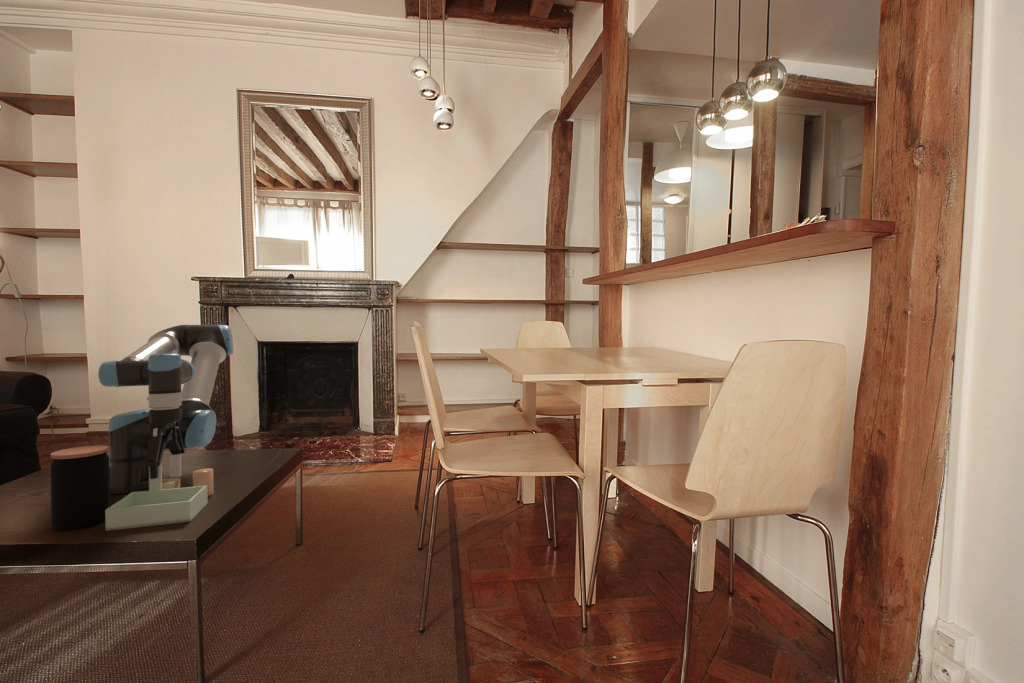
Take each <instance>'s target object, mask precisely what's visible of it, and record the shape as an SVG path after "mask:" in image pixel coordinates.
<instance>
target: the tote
mask: <svg viewBox="0 0 1024 683" xmlns="http://www.w3.org/2000/svg"><path fill="white" fill-rule="evenodd" d="M208 497H209V496H208V492H207V486H196V487H193V486H188V487H186V486H185V487H180V488H174V489H163V490H152V491H149V490H142V491H137V492H131V493H128V494H127V495H125V496H124V497H123V498H121V499H120V500H118V501H117V502H115V503H114V504H112V505H110V507H109V508H107V509H106V510H105V520H104V521H105V522H104V523H105V531H106V532H107V531H108V532H109V531H116V530H117V531H118V530H128V529H137V528H143V527H155V526H161V525H162V526H163V525H171V524H181V523H182V524H183V523H189V522H192V520H194V518H196V516H197V515H198V514H200V512H201V511H202V510H203V509H204V508H205V507H206V506H207V505H208V502H209V499H208Z"/></svg>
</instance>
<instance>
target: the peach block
mask: <svg viewBox="0 0 1024 683" xmlns="http://www.w3.org/2000/svg"><path fill="white" fill-rule="evenodd" d="M196 486H207V492H208V497H210V496H212V495H214V492H215V491H214V469H213V468H212V467H211V468H207V467H206V468H201V469H197V470H194V471H192V487H196Z"/></svg>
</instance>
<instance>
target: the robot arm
mask: <svg viewBox="0 0 1024 683" xmlns="http://www.w3.org/2000/svg"><path fill="white" fill-rule="evenodd" d="M233 354H234V341H233V334H232V330H231V327H230V326H229V325H226V324H180V325H175V326H171V327H167V328H166V329H163V330H160V331H158V332H156V333H154V334H153V335H151V336H149V338H148V339H147V342H146V343H145V344H143V345H141V347H139V348H138V349H136V350H134V351H133V352H131V353H130V354H128V355H127V356H125V357H124V358H123V359H121V360H112V361H111V360H110V361H104V362H102V363H101V364H100V366H99V368H98V371H97V372H98V374H97V376H98V381H99V383H100V384H101V386H103V387H107V388H109V387H110V388H114V387H115V388H119V387H120V388H121V387H140V386H141V387H142V386H143V387H144V386H147V387H148V396H147V397H146V400H147V401H148V408H145V409H139V410H132V411H128V412H122V413H119V414H116V415H113V416H112V417H111V418H110V419H109V421H108V430H107V433H108V446H109V451H108V455H109V481H110V495H121V494H130V493H132V492H141V491H152V490H161V489H162V479H166V474H165V471H164V469H163V464H161V462H162V459H163V455H164V452H165V451H169V452H170V455H169V458H168V460H169V461H168V462H169V464H168V465H169V478H181V476H182V454H185V452H186V449H190V450H192V449H195V448H197V449H198V448H203V447H206V446H207V445H208V446H209V444H210V443H211V442H212V440H213V439H214V436H215V433H216V427H217V415H216V412H215V411H214V410H213V409H212V407H211V406H210V402H211V398H212V394H213V390H214V386H215V382H216V380H217V379H216V378H217V374H218V370H219V366H220V364H221V363H222V362H224V361H225V360H226V358H227V356H231V355H233ZM181 356H182V357H183V356H184V357H185V356H187V357H191V361H189V360H186V359H182V357H181ZM182 385H183V386H182Z"/></svg>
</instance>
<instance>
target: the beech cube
mask: <svg viewBox="0 0 1024 683" xmlns="http://www.w3.org/2000/svg"><path fill="white" fill-rule="evenodd" d="M174 488H181V477H171V478H165V479H162V489H161V490H163V489H174Z"/></svg>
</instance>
